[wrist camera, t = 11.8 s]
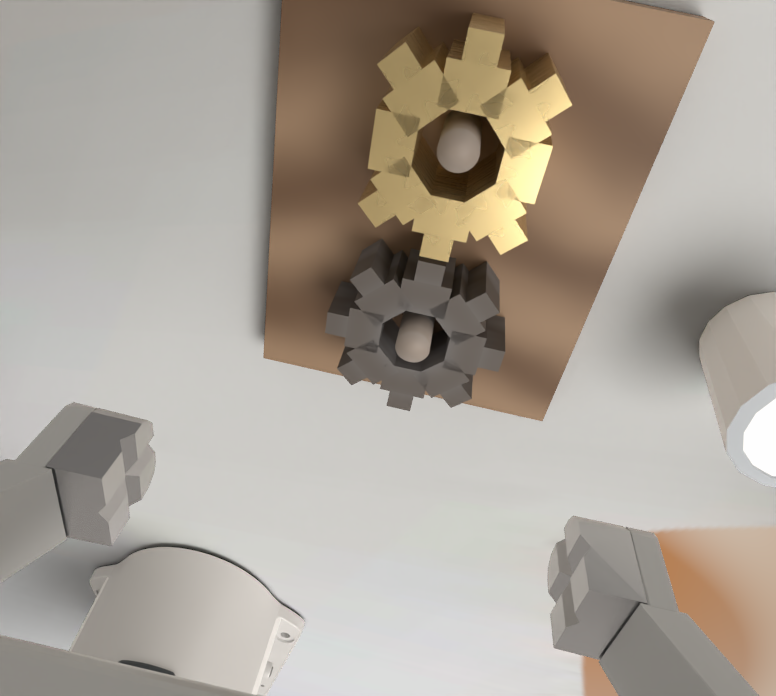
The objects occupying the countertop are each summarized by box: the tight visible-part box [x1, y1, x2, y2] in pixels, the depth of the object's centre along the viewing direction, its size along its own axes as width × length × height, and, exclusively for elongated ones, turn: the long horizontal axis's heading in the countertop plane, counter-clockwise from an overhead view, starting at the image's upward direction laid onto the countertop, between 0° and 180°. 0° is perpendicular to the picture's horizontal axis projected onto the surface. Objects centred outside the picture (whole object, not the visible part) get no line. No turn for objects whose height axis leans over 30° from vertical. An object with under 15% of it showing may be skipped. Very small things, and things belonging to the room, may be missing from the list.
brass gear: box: [358, 13, 572, 262], centre depth 24 cm, size 8×7×4 cm
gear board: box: [264, 0, 714, 421], centre depth 27 cm, size 20×16×5 cm
